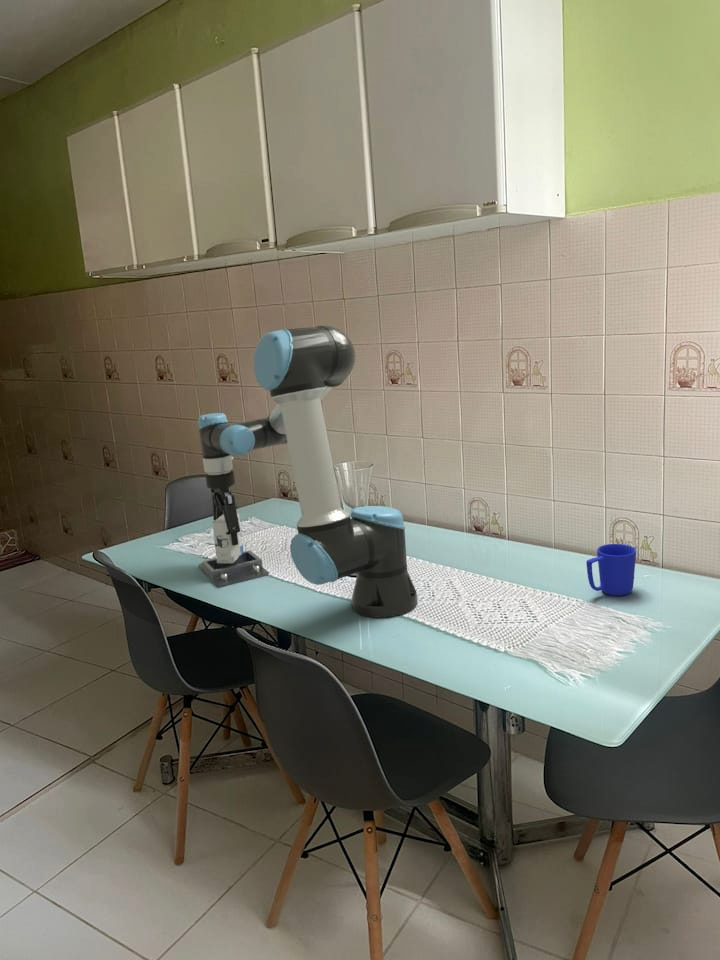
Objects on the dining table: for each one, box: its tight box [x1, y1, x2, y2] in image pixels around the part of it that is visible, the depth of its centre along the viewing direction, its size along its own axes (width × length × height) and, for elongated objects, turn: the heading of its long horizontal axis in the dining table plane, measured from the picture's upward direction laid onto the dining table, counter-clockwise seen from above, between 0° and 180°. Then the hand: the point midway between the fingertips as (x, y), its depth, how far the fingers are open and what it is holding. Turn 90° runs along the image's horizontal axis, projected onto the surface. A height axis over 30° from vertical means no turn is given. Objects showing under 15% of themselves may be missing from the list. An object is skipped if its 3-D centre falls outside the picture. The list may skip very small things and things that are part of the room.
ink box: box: [211, 512, 245, 563], centre depth 198 cm, size 9×5×12 cm, turn 168°
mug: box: [586, 543, 637, 597], centre depth 162 cm, size 8×12×10 cm
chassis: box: [197, 549, 270, 589], centre depth 200 cm, size 20×14×3 cm
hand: (230, 551), depth 199 cm, fingers closed on ink box, 9 cm apart
